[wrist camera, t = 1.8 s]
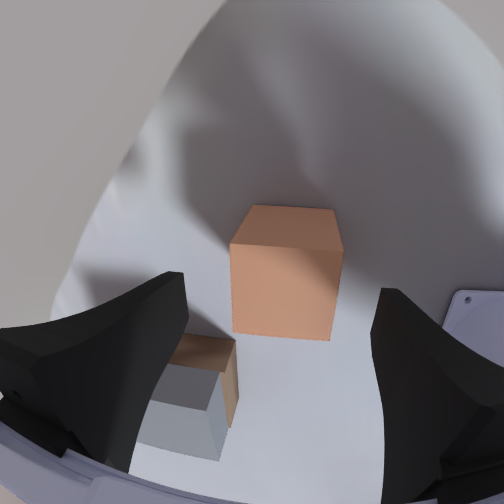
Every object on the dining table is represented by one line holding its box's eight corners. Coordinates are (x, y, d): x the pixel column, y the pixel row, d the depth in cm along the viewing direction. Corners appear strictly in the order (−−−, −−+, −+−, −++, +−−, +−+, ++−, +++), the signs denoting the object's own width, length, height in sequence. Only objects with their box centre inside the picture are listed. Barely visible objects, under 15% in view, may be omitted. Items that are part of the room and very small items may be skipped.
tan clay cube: (333, 209, 15) (343, 251, 10) (325, 280, 17) (329, 341, 12) (252, 204, 16) (229, 243, 11) (252, 275, 17) (232, 332, 13)
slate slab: (220, 371, 17) (206, 411, 14) (228, 427, 19) (218, 461, 17) (129, 356, 18) (108, 388, 15) (151, 412, 20) (136, 441, 18)
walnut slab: (235, 340, 20) (224, 372, 17) (238, 397, 22) (230, 427, 19) (151, 328, 21) (132, 355, 18) (166, 384, 23) (153, 411, 20)
